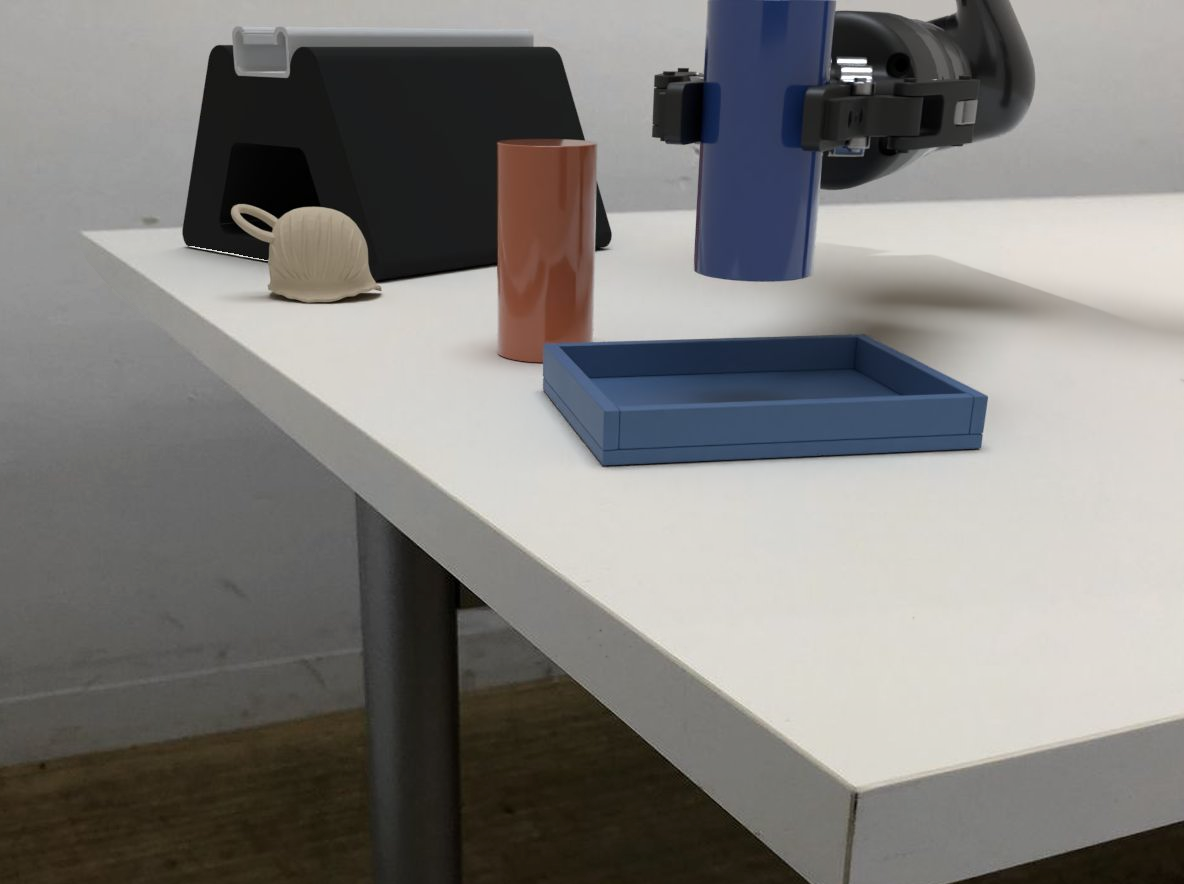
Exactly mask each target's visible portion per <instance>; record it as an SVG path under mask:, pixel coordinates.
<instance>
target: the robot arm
mask: <svg viewBox="0 0 1184 884" xmlns="http://www.w3.org/2000/svg"><path fill="white" fill-rule="evenodd" d="M955 4H956V12H954V13H951V14H950V15H943V16H940V17H938V18H934V19H931V20H927V21H924V20H920V19H917V18H916V19H914V18H909V17H906V16H903V15H901V14H896V13H893V12H886V11H867V10H866V11H865V10H836V13H835V25H834V36H833V48H832V59H831V71H830V82H829V85H824V86H816V87H809V88H808V89H807V91H806V94H805V99H804V110H803V122H802V134H801V147H802V150H803V151H813V152H823V163H822V174H821V186H820V190H825V191H841V190H848V189H852V188H856V187H858V186H859V187H860V186H862V185H865V184H868V183H871V182H874V181H876V180H879V179H881V178H884V177H887V176H890V175H893V174H896V173H897V172H899V171H901V170H904V169H905V168H907V167H909V166H910V165H912V164H913V163H915V162H916V161H917V160H919V159H922V158H923V157H925V156H928V155H929V154H932V153H937V152H942V151H947V150H951V149H955V148H959V147H964V146H968V145H972V144H977V143H981V142H985V141H990V140H994V139H998V138H1000V137H1004V136H1006V135H1009V134H1010V133H1011V132H1013V131H1015V129H1017V128H1018V126H1019V125H1020V124H1021V123H1022V122H1023V120H1024V119H1025V117H1026V115H1027V114H1028V112H1029V109H1030V107H1031V104H1032V102H1033V98H1034V94H1035V89H1036V69H1035V63H1034V59H1033V56H1032V52H1031V50H1030V46H1029V44H1028V40H1027V38H1026V36H1025V33H1024V31H1023V29H1022V26H1021V24H1020V22H1019V19H1018V17H1017V15H1016V12H1015V10H1014V8H1013V6H1012V3H1011V1H1010V0H955ZM689 70H690V68H689V67H677V71H676V70H675V71H674V70H672V71H671V70H666V71H665V70H663V71H662V73H659V74H654V76H653V77H654V78H653V100H652V102H653V104H652V126H651V127H652V128H651V129H652V130H651V137H652V138H655V139H659V141H660V142H664V143H665V144H666V145H674V146H675V145H676V146H677V145H679V146H686V145H692V144H694V145H700V132H701V113H702V94H703V75H704V72H697V71H689Z"/></svg>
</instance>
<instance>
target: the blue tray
mask: <svg viewBox="0 0 1184 884" xmlns="http://www.w3.org/2000/svg"><path fill="white" fill-rule="evenodd" d="M542 377H543V378H542V390H543V391H544V393H545V394H546V396H547V397H548V398H549V400H550V401H552V403H553V404H554V405H555V406H556V408H557V409H558V410H559V412H560V413H561V414H562V416H563V417H564V418H565V419H566V421H567V423H569V424H570V425H571V427H572V428H573V429H574V431H575V432H576V433H577V435H578V436H579V437H580V438H581V440H582V441H583V443H585V445H586V446H587V447H588V448H589V450H590V451H591V452H592V453H593V455H594V456H595V457H596V458H597V460H598V461H599V462H600V464H601V465H602V466H623V465H644V464H665V463H668V464H669V463H689V462H710V461H729V460H730V461H732V460H733V461H734V460H736V461H737V460H754V459H776V458H777V459H778V458H780V459H781V458H799V457H820V456H822V455H823V456H843V455H865V454H866V455H867V454H886V453H888V454H889V453H907V452H909V453H910V452H911V453H912V452H929V451H932V452H933V451H950V450H952V451H953V450H974V449H975V450H976V449H981V448H982V444H983V438H984V437H983V436H984V434H983V433H984V431H985V422H986V416H987V407H988V401H989V396H988V395H987V394H984V393H983V392H980V391H979V390H976V389H974V388H972V387H970V386H969V385H966V384H965V383H962V382H960V381H958V380H956V379H955V378H953V377H951V376H949V375H947V374H945V373H943V372H941V371H939V370H937V369H935V368H932V367H931V366H929V365H927V364H925V363H923V362H921V361H919V360H917V359H915V358H914V357H911V356H909V355H907V354H905V353H903V352H901V351H899V350H897V349H895V348H893V347H891V346H890V345H888V344H885V343H883V342H881V341H879V340H877V339H876V338H873V337H871V336H870V335H867V334H865V333H860V334H859V333H857V334H856V333H855V334H853V333H851V334H850V333H849V334H819V335H818V334H816V335H788V336H787V335H786V336H781V335H780V336H755V337H753V336H751V337H750V336H749V337H747V336H746V337H721V338H719V337H718V338H716V337H715V338H714V337H713V338H686V339H685V338H683V339H653V340H651V339H650V340H648V339H647V340H621V341H620V340H619V341H616V340H615V341H593V342H580V343H557V344H556V343H546V344H543V363H542Z"/></svg>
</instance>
